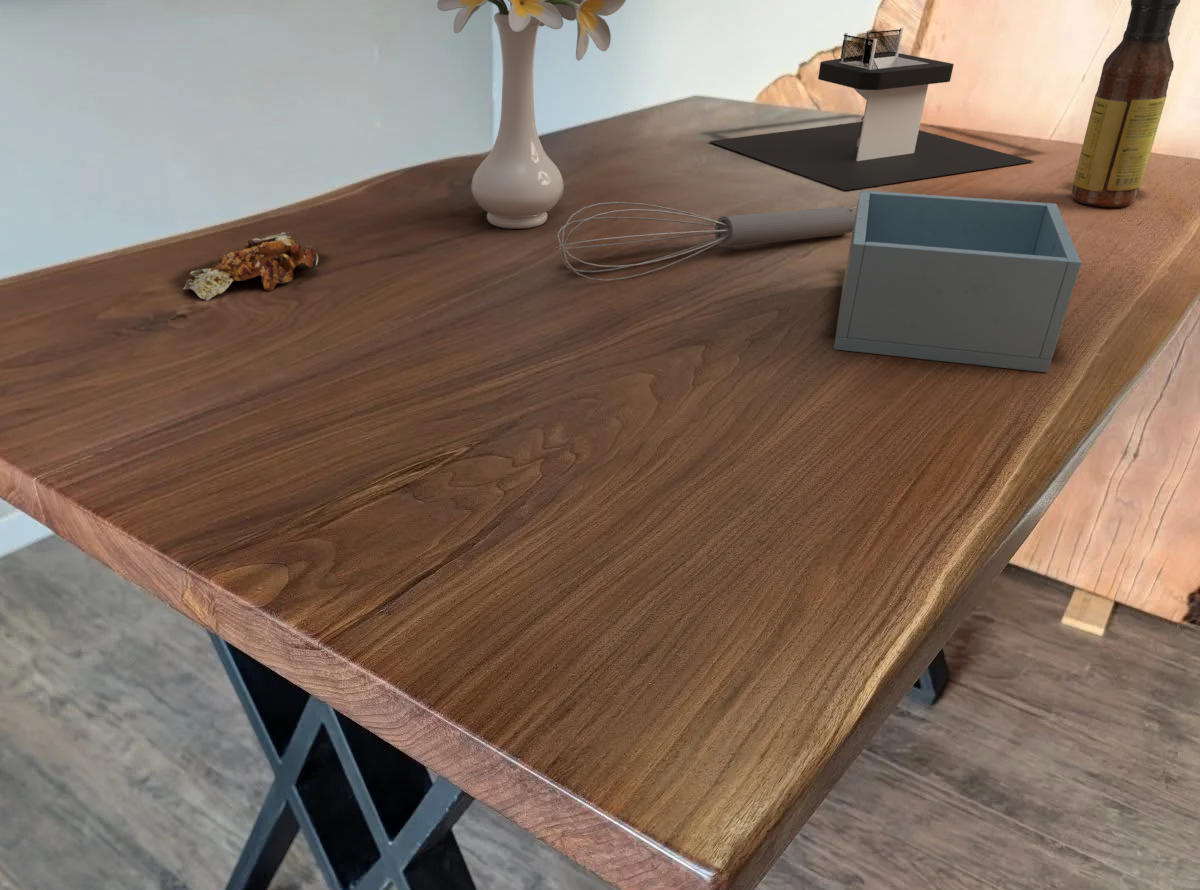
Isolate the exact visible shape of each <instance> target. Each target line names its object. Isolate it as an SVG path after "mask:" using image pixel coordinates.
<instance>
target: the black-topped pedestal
mask: <svg viewBox="0 0 1200 890" xmlns="http://www.w3.org/2000/svg"><path fill="white" fill-rule="evenodd" d="M903 33H904V27H900V28H899V29H890V30H879V31H878V30H877V31H869V30H866V32H865V38H864V37H859V36H855V35H849V33H848V32H844V34H843V39H842V46H841V53H840V57H839V58H835V59H829V60H828V59H827V60H823V61H820V62H819V63H820V64H819V70H818V77H817V80H818V81H819V80H820V81H822V82H823V81H824V82H826V83H831V84H836V85H840V86H843V87H848V88H851V89H854V91H855V92H856V93H857V94H859V95H860V96H861V97H862V98H863V99H865V101H866V103H865V107H864V113H863V117H862V118H861V121H856V122H847V123H840V124H833V125H825V126H816V127H809V128H802V129H792V130H786V131H785V130H784V131H777V132H769V133H762V134H754V135H747V136H739V137H729V138H723V139H714V140H708V143H709V142H710V143H711V144H715V145H716V146H717V145H718V146H720V147H723V148H726V149H729V150H732V151H734V152H737V153H740V154H743V155H746V156H748V157H751V158H754V159H757V160H760V161H762V162H766V163H767V164H771V165H773V166H777V167H779V168H782V169H785V170H787V171H791V172H792V173H796V174H799V175H801V176H805V177H807V178H809V179H813V180H816V181H818V182H821V183H824V184H826V185H829V186H833V187H834V188H838V189H840V190H843V191H850V190H857V189H862V188H870V187H877V186H883V185H891V184H897V183H903V182H909V181H917V180H922V179H928V178H934V177H941V176H949V175H955V174H961V173H968V172H975V171H981V170H988V169H992V168H993V169H994V168H1000V167H1007V166H1013V165H1020V164H1027V163H1034V162H1035V160H1032V159H1028V158H1025V157H1021V156H1017V155H1013V154H1010V153H1006V152H1002V151H997V150H995V149H991V148H988V147H984V146H980V145H977V144H972V143H969V142H965V141H962V140H957V139H953V138H950V137H947V136H942V135H939V134H935V133H932V132H928V131H925V130H921V129H920V126H921V122H922V117H923V111H924V107H925V104H926V103H925V102H926V98H927V93H928V88H929V85H935V84H944V83H950V82H951V79H952V74H953V71H954V65H955V64H954V63H951V62H946V61H941V60H936V59H931V58H927V57H926V58H925V57H921V56H916V55H911V54H905V53H901V52H900V47H901V42H902V37H903Z"/></svg>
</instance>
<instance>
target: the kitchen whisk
mask: <svg viewBox="0 0 1200 890" xmlns="http://www.w3.org/2000/svg"><path fill="white" fill-rule="evenodd" d="M617 204H619V205H636V206H637V205H638V206H643V207H644V206H645V207H652V208H658V209H646V208H645V209H643V208H641V209H640V208H631V209H618V210H617V209H615V210H611V211H606V212H603V213H597V214H595V215H593V216H591V217H588V218H583V219H578V220H573V221H571V219H572V218H573V217H574V216H576V215H577V214H579V213H581V212H582V211H583V210H586V209H587V210H588V209H590V208H593V207H597V206H604V205H605V206H606V205H617ZM660 209H662V210H660ZM663 209H664V210H663ZM855 210H857V206H855V207H845V206H842V205H841V206H830V207H818V208H807V209H793V210H781V211H772V212H771V211H770V212H758V213H757V212H756V213H749V214H747V213H745V214H734V215H722V216H720V217H719V218H718V219H717V220H716V219H713V218H709V217H706V216H703V215H699V214H696V213H692V212H688V211H683V210H680V209H676V208H671V207H666V206H660V205H655V204H648V203H642V202H641V203H639V202H628V201H627V202H626V201H625V202H624V201H613V202H600V203H596V204H591V205H587V206H584V207H582V208H580V209H578V210H577V211H576V212H574V213H573V214H571V215H570V216H569V218H568V220H567V221H566V223H565V225H562V226H561V227H560V229H559V231H558V233H557V234H556V235H557V240H558V242H559V245H558V246H556V247H554V248H555V250H561V258H560V259H561V261H562V262H563V264H564V265H565V267H566V268H567V269H570V270H572V271H573V272H574V273H575V274H576V275H578V276H580V277H583V278H586V279H588V280H591V281H601V282H602V281H604V282H609V281H611V282H612V281H619V280H627V279H632V278H635V277H640V276H645V275H647V274H649V273H653V272H656V271H659V270H662V269H665V268H667V267H669V266H673V265H675V264H678V263H680V262H682V261H684V260H687V259H690V258H691V257H694V256H696V255H698V254H700V253H703V252H705V251H707V250H708V249H711V248H712V247H715V246H716V245H719V246H721V247H733V246H735V247H736V246H744V245H745V246H746V245H754V244H755V245H756V244H763V243H764V244H765V243H775V242H787V241H794V240H806V239H815V238H816V239H817V238H825V237H826V238H827V237H836V236H843V235H845V234H847V233H852V232H853V226H854V221H855V215H856V211H855ZM621 212H622V213H623V212H657V213H665V214H671V215H673V214H674V215H678V216H679V215H680V216H685V217H690V218H693V219H694V218H695V219H699V220H703V221H707V222H712V223H715V224H710V223H701V222H693V221H685V220H675V219H664V218H652V217H635V216H634V217H633V216H632V217H631V216H604V215H609V214H614V213H621ZM600 216H602V217H600ZM605 219H607V220H611V219H612V220H615V219H618V220H620V219H621V220H623V219H627V220H648V221H660V222H672V223H681V224H690V225H699V226H705V227H706V226H707V227H714V229H713V230H711V229H709V230H693V231H692V230H691V231H678V232H673V231H672V232H660V233H648V234H647V233H646V234H645V233H644V234H636V235H635V234H634V235H624V236H622V235H621V236H614V237H604V238H596V239H588V240H582V241H575V242H569V243H567V242H568V240H569V238H570V236H571V234H572V233H573V232H574V231H575V230H576V229H578V228H579V227H580V226H581V225H582V224H583V223H586V222H587V221H594V220H605ZM575 223H578V224H577V225H576V226H575V227H574V228H572V229H571V230H570V231H569V233H568V235H567V237H566V238H565V229H566V227H568V226H570V225H572V224H575ZM561 232H562V237H561V238H560V234H561ZM682 234H687V235H682ZM666 235H680V236H671V237H662V238H654V239H646V240H644V239H643V240H637V241H627V242H618V243H615V242H614V243H607V244H605V243H604V244H598V245H585V246H573V247H567V246H572V245H578V244H584V243H592V242H599V241H608V240H618V239H629V238H630V239H631V238H639V237H652V236H666ZM708 235H714V239H711V240H708V241H706V242H703V243H700V244H697V245H695V246H692V247H688V248H686V249H682V250H680V251H677V252H674V253H670V254H667V255H663V256H660V257H657V258H654V259H650V260H647V261H642V262H638V263H631V264H630V263H629V264H621V265H608V264H607V265H606V264H603V265H602V264H596V263H592V262H586V261H584V260H582V259H579V258H578V257H576V256H574V255H572V254H571V253H570V251H568V250H576V249H577V250H578V249H588V248H589V249H590V248H599V247H609V246H618V245H629V244H630V245H631V244H637V243H638V244H639V243H647V242H657V241H665V240H673V239H674V240H675V239H682V238H692V237H700V236H708ZM702 248H703V249H702ZM700 249H701V250H700ZM697 250H699V251H697ZM694 251H697V252H694ZM690 252H694V253H692V254H690V255H688V256H686V257H684V258H681V259H679V260H676V261H673V262H671V263H669V264H666V265H663V266H660V267H658V268H654V269H651V270H649V271H645V272H641V273H638V274H634V275H629V276H625V277H615V278H608V279H607V278H595V277H589V276H587V275H585V274H582V273H603V272H611V271H616V270H622V269H627V268H631V267H636V266H641V265H645V264H651V263H656V262H660V261H664V260H668V259H672V258H675V257H679V256H682V255H685V254H688V253H690ZM567 255H568V256H569V257H570V258H572V259H574V260H576V261H577V262H580V263H582V264H585V265H590V266H593V267H594V266H595V267H600V268H607V269H599V270H598V269H597V270H582V269H577V268H574V267H573V266H572V265H571V264H570V262H569V261H568V258H567ZM609 268H610V269H609Z"/></svg>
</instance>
